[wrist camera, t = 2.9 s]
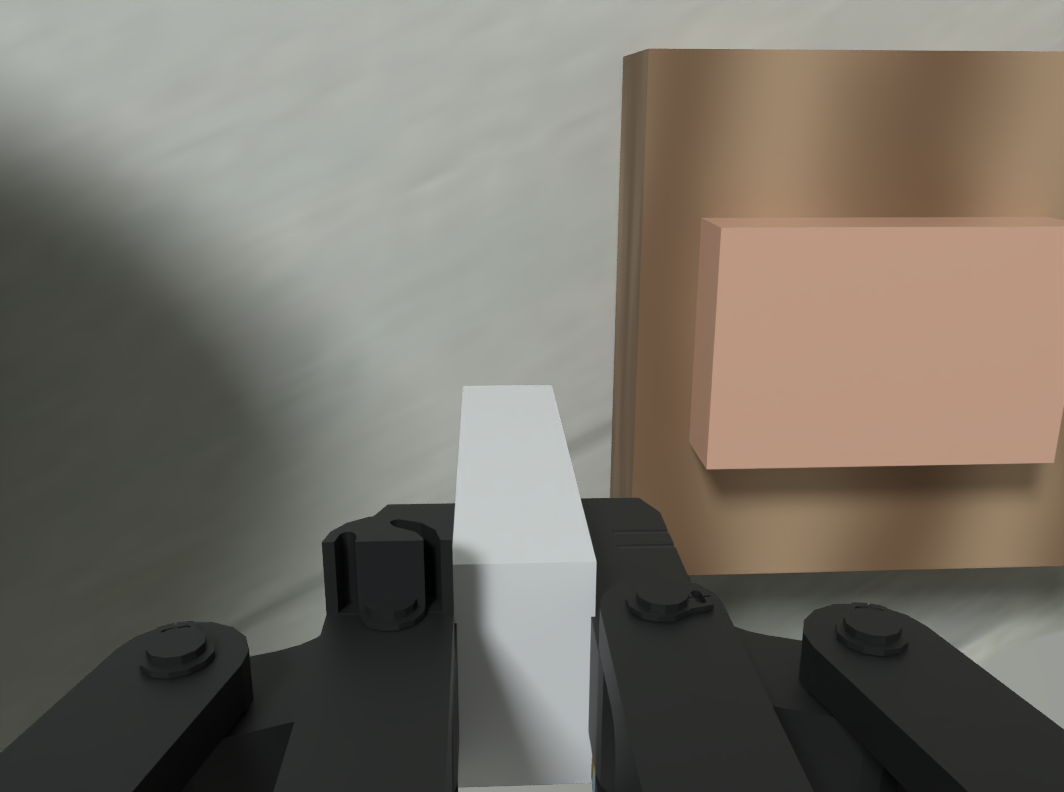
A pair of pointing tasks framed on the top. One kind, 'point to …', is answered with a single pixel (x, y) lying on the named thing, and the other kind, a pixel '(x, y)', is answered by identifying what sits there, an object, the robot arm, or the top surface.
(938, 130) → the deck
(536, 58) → the top surface
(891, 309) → the tile
